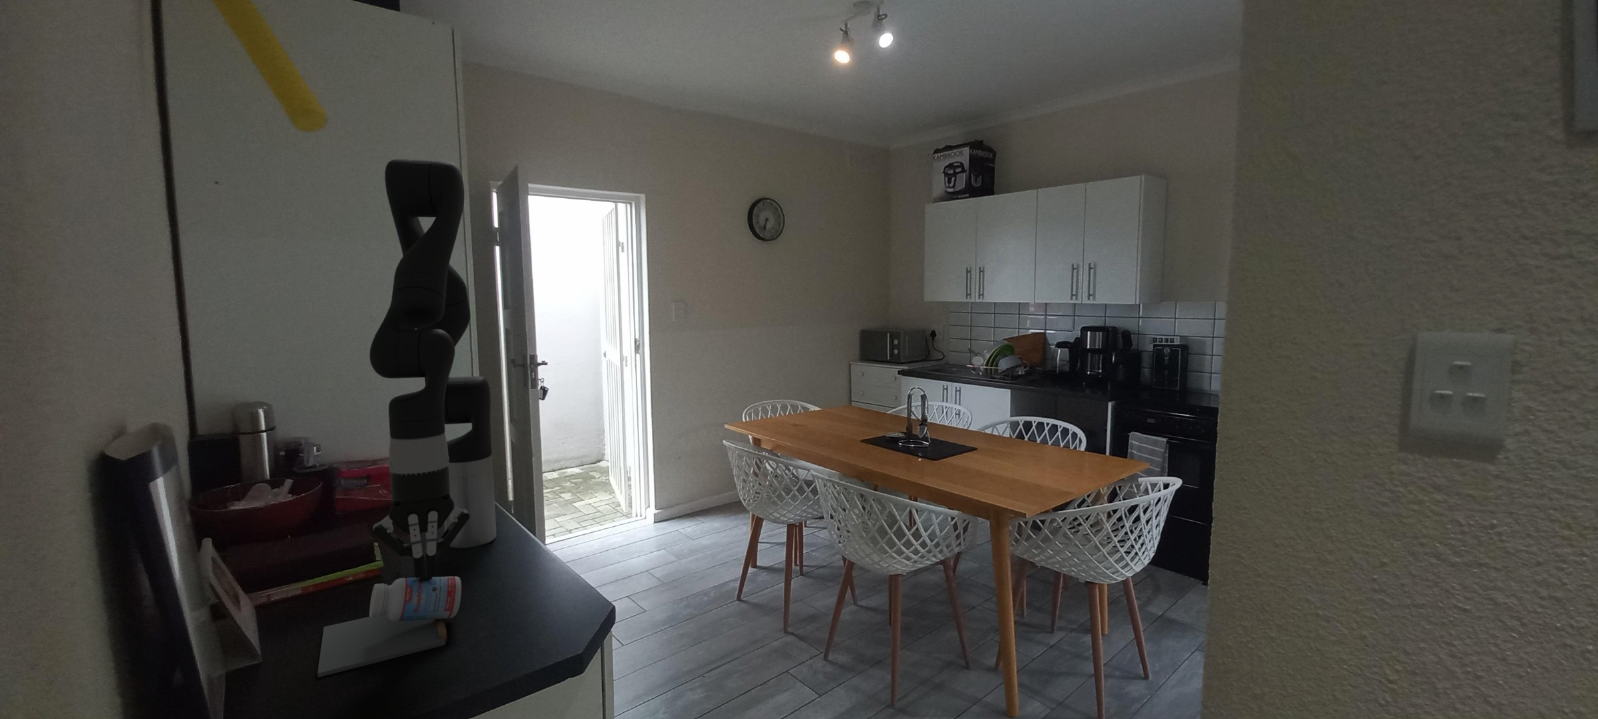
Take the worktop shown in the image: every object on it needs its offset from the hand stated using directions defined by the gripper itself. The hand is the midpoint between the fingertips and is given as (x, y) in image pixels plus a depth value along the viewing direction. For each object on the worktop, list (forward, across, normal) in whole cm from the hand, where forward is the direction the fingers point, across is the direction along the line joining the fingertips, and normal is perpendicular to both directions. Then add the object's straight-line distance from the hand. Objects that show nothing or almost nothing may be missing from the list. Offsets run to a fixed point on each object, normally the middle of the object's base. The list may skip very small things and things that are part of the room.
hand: (425, 578), depth 100 cm
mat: (+8, +6, -1) cm, 10 cm away
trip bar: (+8, -2, -1) cm, 8 cm away
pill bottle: (+4, -4, -1) cm, 6 cm away
